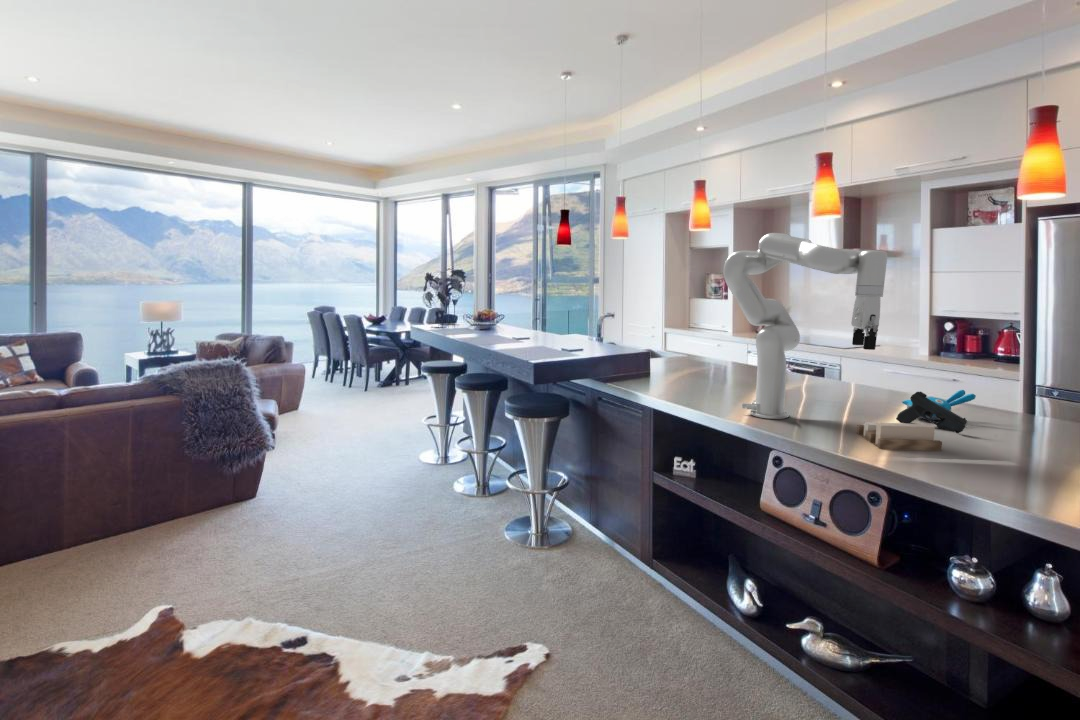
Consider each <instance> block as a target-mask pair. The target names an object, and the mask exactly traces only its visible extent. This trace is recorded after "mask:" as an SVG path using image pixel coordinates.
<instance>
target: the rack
mask: <svg viewBox="0 0 1080 720" xmlns="http://www.w3.org/2000/svg"><path fill="white" fill-rule="evenodd" d="M856 434H857V435H858V436H860V437H862V438H863V439H865V440H866V441H867V442H869V443H870V444H871V445H873V446H875V447H876V448H877V449H880V450H904V451H928V452H929V451H933V452H935V451H938V452H942V447H943V441H942V440H936V439H934V440H910V439H879V438H878V443H877V444H875V440H876V431H869V430H866V431H865V436H864V435H863V434H864V424H857V427H856Z"/></svg>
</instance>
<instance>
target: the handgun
mask: <svg viewBox="0 0 1080 720" xmlns="http://www.w3.org/2000/svg"><path fill="white" fill-rule="evenodd" d="M926 397H928V396H927V394H926V393H924V392H923V391H916V392H915V393H913V394H912V395H911V397H910V398H909V400H911V402H912V406H910V407H908V408H907V407H906V408H905V409H903V410H902V411H899V413H897V416H896V420H897V422H899V423H904V424H912V423H913V421H915V420H917V419H918V417H923V418H925V419H924V420H927V421H928V422H930V423H932V424H934V425H936V427H937V428H938V429H942V430H945V431H951V432H953V433H956V434H960V433H961V432H963V431H964V430H965V428H966V424H967V422H968V420H967V418H966V417H962V416H960V415H958V414H957V413H955V412H952V410H951V411H949V410H948V409H946V408H944V407H942V406H940V405H939V404H937V403H935V402H933V401H931V400H930V399H928V398H926ZM933 414H935V415H936V417H937V418H939V421H938V422H935V420H930V419H928V418H927V417H926V415H927V416H928V417H930V418H932V415H933Z"/></svg>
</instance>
